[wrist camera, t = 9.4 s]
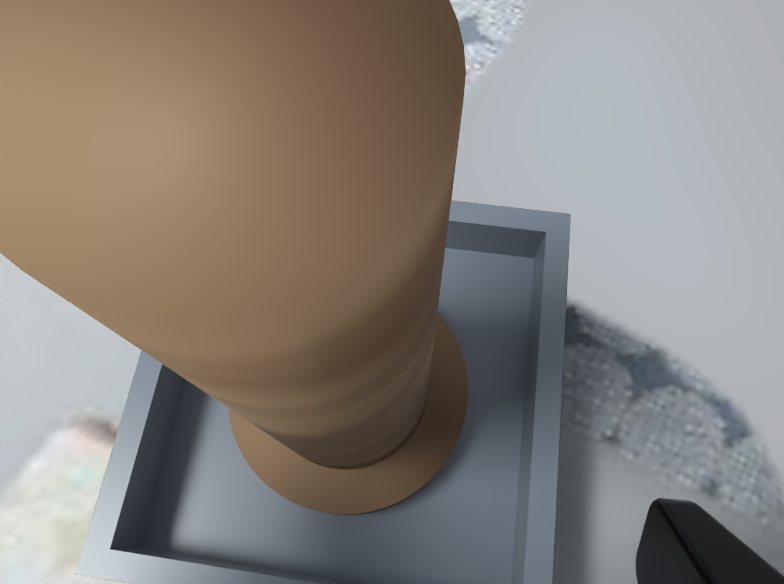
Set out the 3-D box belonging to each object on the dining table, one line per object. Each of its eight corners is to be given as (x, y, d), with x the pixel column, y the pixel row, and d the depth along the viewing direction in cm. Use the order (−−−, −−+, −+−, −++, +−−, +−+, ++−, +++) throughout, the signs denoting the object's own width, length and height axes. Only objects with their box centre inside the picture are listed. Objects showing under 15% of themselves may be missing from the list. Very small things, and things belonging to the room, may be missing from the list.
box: (527, 634, 15) (548, 653, 13) (124, 568, 16) (75, 574, 14) (550, 253, 19) (570, 214, 16) (220, 214, 19) (194, 171, 17)
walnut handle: (406, 558, 15) (390, 662, 3) (195, 450, 16) (-375, 241, 4) (499, 341, 17) (697, -80, 5) (304, 257, 18) (107, -250, 6)
